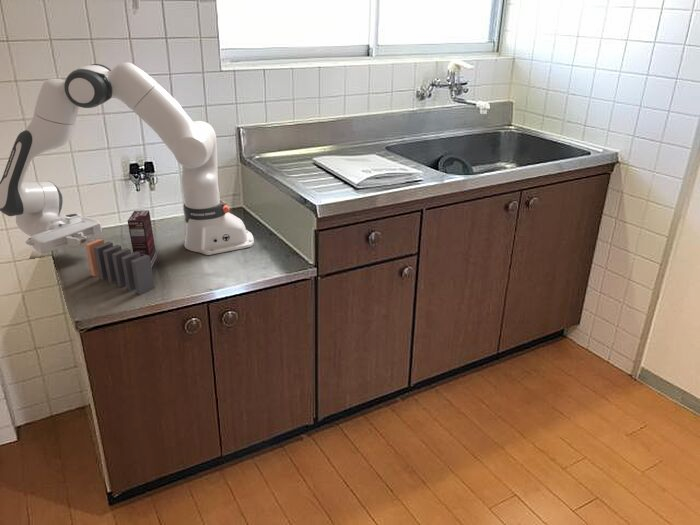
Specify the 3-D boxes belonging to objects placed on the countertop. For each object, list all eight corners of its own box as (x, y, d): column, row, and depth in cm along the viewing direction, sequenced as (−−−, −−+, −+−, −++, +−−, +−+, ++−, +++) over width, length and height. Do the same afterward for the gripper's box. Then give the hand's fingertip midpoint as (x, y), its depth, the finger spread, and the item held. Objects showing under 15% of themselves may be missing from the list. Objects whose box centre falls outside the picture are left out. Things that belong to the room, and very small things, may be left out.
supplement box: (141, 257, 186) (133, 210, 180) (157, 257, 187) (150, 209, 180) (134, 269, 179) (126, 220, 172) (151, 269, 179) (143, 220, 172)
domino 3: (108, 282, 171) (102, 250, 167) (123, 275, 175) (117, 244, 171) (112, 283, 170) (106, 252, 166) (126, 277, 174) (121, 246, 170)
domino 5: (126, 289, 167) (121, 257, 163) (141, 282, 171) (136, 251, 167) (130, 291, 167) (125, 258, 162) (145, 284, 170) (139, 252, 166)
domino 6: (136, 293, 165) (130, 260, 161) (150, 286, 169) (145, 254, 165) (140, 294, 165) (134, 262, 160) (154, 287, 168) (149, 255, 164)
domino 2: (100, 278, 173) (93, 247, 169) (114, 272, 177) (108, 241, 173) (103, 280, 172) (97, 248, 168) (118, 273, 176) (112, 242, 172)
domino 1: (91, 275, 175) (85, 244, 171) (105, 269, 179) (100, 238, 175) (94, 276, 174) (88, 245, 170) (109, 270, 178) (103, 239, 174)
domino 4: (117, 285, 169) (111, 254, 165) (132, 279, 173) (126, 247, 169) (121, 287, 168) (115, 255, 164) (135, 280, 172) (130, 249, 168)
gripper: (20, 231, 173) (48, 242, 166) (82, 211, 188) (110, 221, 181) (24, 251, 175) (52, 263, 169) (86, 230, 191) (113, 240, 184)
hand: (83, 241), depth 175 cm, fingers closed
